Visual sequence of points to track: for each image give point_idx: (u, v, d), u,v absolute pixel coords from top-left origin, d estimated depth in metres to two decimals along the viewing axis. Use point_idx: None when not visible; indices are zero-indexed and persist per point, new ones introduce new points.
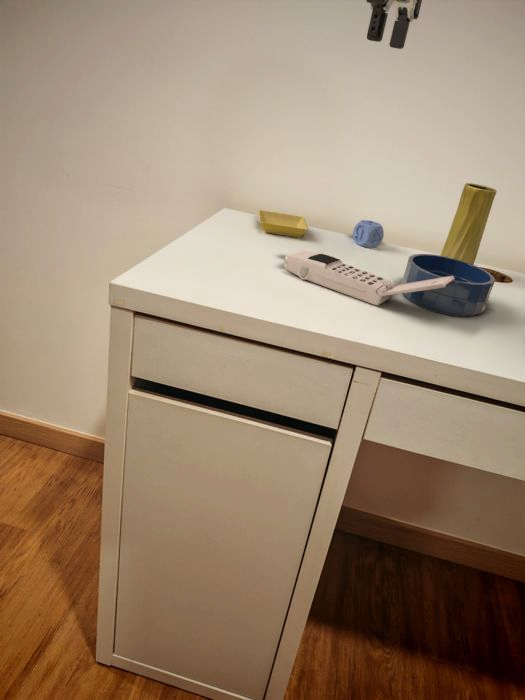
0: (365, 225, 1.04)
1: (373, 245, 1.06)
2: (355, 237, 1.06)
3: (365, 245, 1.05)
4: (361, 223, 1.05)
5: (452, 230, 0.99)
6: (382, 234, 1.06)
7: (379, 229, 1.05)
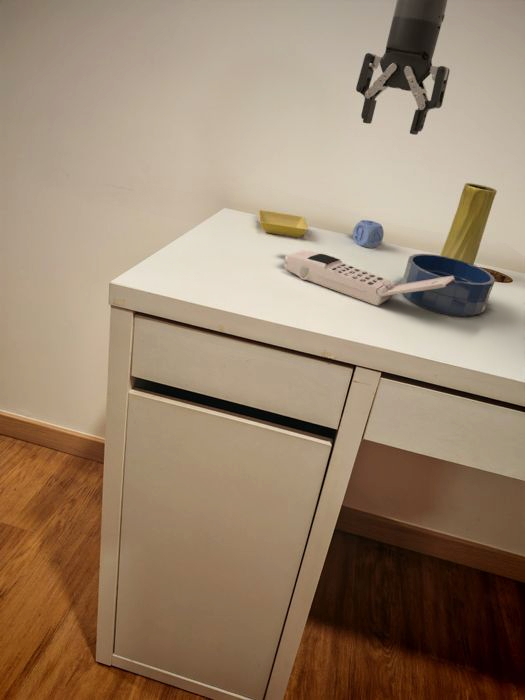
0: (365, 225, 1.04)
1: (373, 245, 1.06)
2: (355, 237, 1.06)
3: (365, 245, 1.05)
4: (361, 223, 1.05)
5: (452, 230, 0.99)
6: (382, 234, 1.06)
7: (379, 229, 1.05)
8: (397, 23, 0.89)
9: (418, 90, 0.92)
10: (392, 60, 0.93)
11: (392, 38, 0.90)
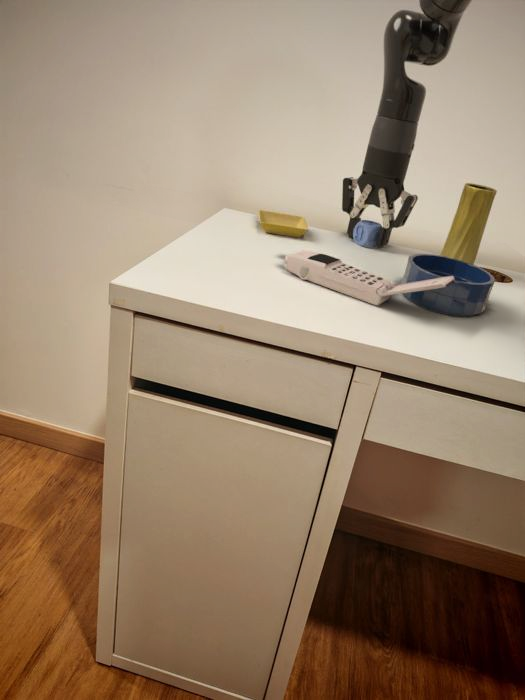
0: (365, 225, 1.04)
1: (373, 245, 1.06)
2: (355, 237, 1.06)
3: (365, 245, 1.05)
4: (361, 223, 1.05)
5: (452, 230, 0.99)
6: None
7: (379, 229, 1.05)
8: (371, 152, 0.98)
9: (386, 212, 1.02)
10: (368, 181, 1.02)
11: (367, 164, 1.00)
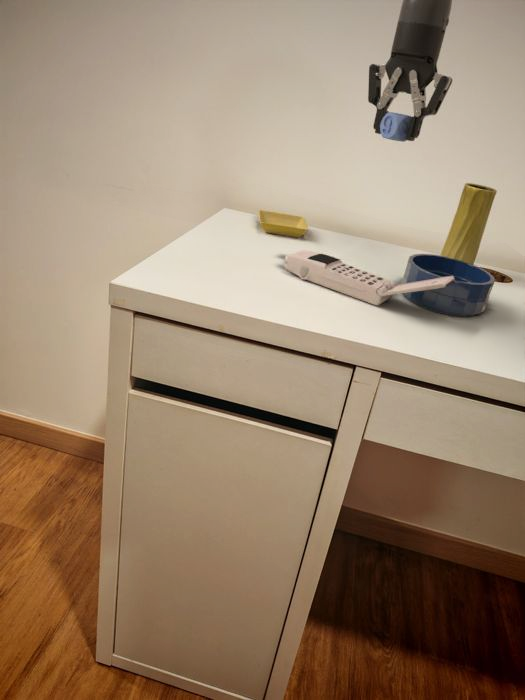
0: (394, 115, 0.96)
1: (402, 138, 0.97)
2: (382, 131, 0.98)
3: (394, 138, 0.97)
4: (389, 113, 0.96)
5: (452, 230, 0.99)
6: None
7: (409, 119, 0.96)
8: (402, 28, 0.90)
9: (417, 97, 0.93)
10: (397, 64, 0.94)
11: (397, 43, 0.91)
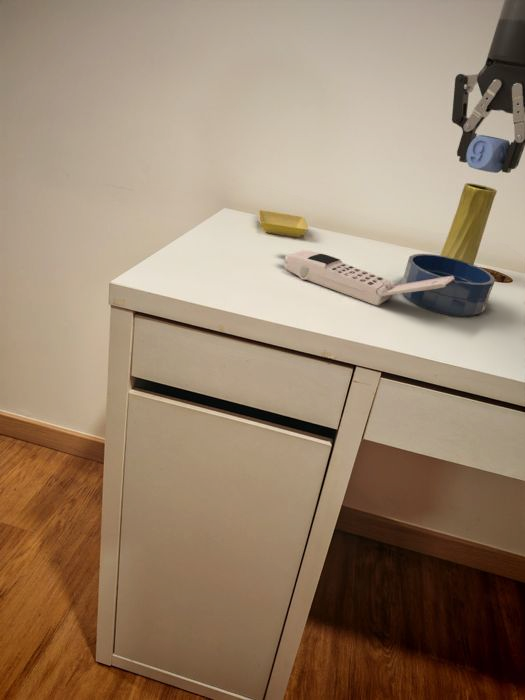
0: (488, 139, 0.74)
1: (497, 168, 0.76)
2: (470, 158, 0.77)
3: (486, 168, 0.75)
4: (481, 137, 0.75)
5: (452, 230, 0.99)
6: None
7: (507, 145, 0.75)
8: (507, 28, 0.69)
9: (522, 117, 0.72)
10: (495, 75, 0.73)
11: (498, 47, 0.70)
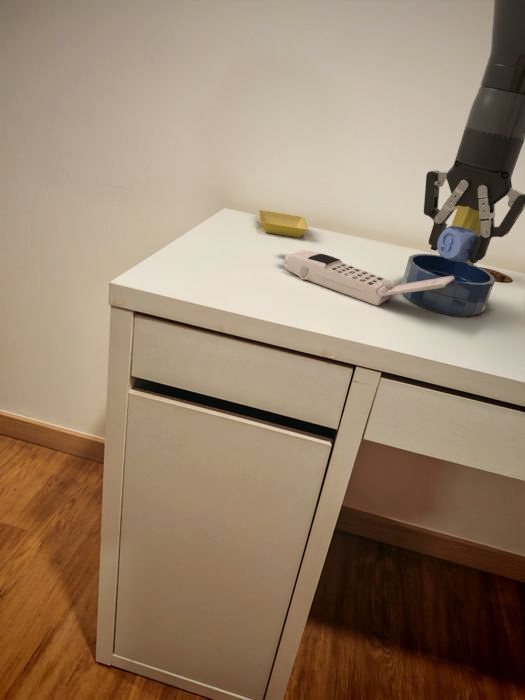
0: (456, 233, 0.80)
1: (465, 259, 0.81)
2: (441, 248, 0.82)
3: (455, 259, 0.81)
4: (450, 230, 0.80)
5: None
6: None
7: (474, 238, 0.80)
8: (472, 137, 0.74)
9: (487, 216, 0.77)
10: (462, 175, 0.78)
11: (465, 153, 0.75)
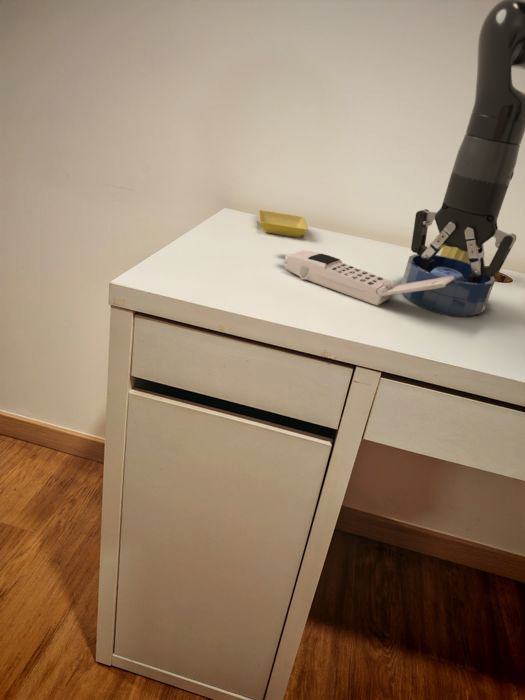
0: (443, 275, 0.82)
1: None
2: None
3: None
4: (437, 272, 0.83)
5: None
6: None
7: (460, 279, 0.83)
8: (458, 182, 0.77)
9: (476, 256, 0.80)
10: (450, 217, 0.81)
11: (451, 197, 0.78)
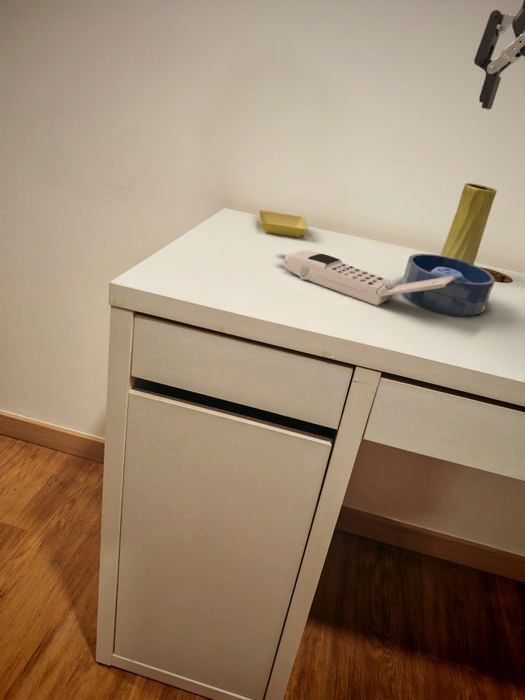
0: (443, 275, 0.82)
1: None
2: None
3: None
4: (437, 272, 0.83)
5: (452, 230, 0.99)
6: None
7: (460, 279, 0.83)
8: None
9: None
10: None
11: None
